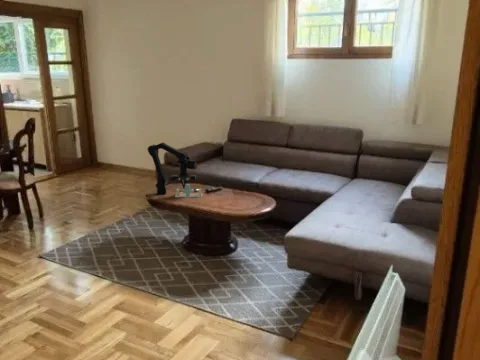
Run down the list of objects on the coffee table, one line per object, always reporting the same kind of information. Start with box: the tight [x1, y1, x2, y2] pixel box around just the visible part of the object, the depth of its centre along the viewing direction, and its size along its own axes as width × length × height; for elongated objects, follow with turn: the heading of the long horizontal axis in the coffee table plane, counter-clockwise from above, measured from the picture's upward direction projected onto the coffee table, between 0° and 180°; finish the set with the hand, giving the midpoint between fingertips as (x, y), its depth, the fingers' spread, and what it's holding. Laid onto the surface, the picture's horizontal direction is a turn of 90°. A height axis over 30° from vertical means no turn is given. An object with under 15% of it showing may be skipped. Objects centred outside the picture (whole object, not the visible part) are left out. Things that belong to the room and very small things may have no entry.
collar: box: [185, 183, 191, 195], centre depth 322 cm, size 3×5×7 cm, turn 4°
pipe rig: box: [174, 187, 204, 198], centre depth 323 cm, size 21×8×5 cm, turn 94°
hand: (183, 188), depth 321 cm, fingers closed
